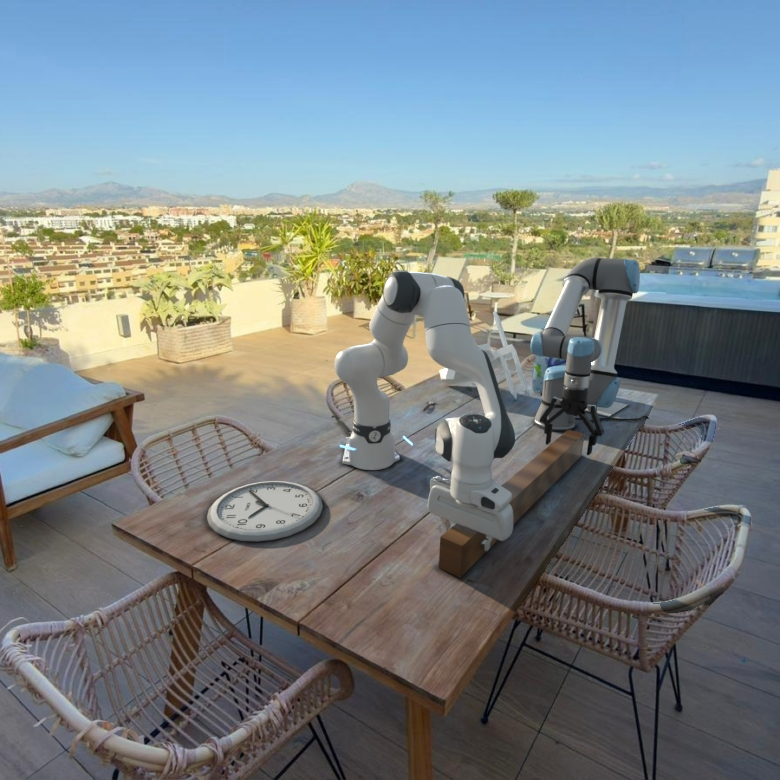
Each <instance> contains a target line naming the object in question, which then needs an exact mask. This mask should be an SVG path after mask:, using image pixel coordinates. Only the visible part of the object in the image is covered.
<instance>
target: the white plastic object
mask: <svg viewBox="0 0 780 780" xmlns="http://www.w3.org/2000/svg"><path fill="white" fill-rule="evenodd" d="M492 315H493V319H494V321H495V324H496V325H495V326H496V328H497V332H498V335H499V338H500V342H501V345H502V347H500V348H498V349H496V350H495V349H493V348H492V347H491V346H490V344H489V343H488V342H487V343H483V344H479V345H478V344H477V345H478V347H479V348H480V349H482V350H483V351H485V352H486V353H487V355H488V357H489V359H490V362H491V364H492V367H493V370H494V371H495V370H496V369H497V368H499V367H500V366H502V370H503V373H504V376H505V380H506V383H507V386H508V390H509V393H510V394H511V395H512V397H513V398H514V399H515V400H517V392H516V391H517V390H516V388H515V385H514V381H513V378H512V375H511V371H510V369H509V365H508V361H510V360H513V363H514V366H515V369H516V372H517V376H518V380H519V382H520V385H521V389H522V391H523V393H524V395H525V396H526V397H528V396H531V395H530V390H529V388H528V387H529V386H528V384H527V381H526V378H525V375H524V371H523V369H522V368H523V367H522V366H521V362H520V359H519V355H518V352H517V349H516V347H515V346H514V345H513V343H511V344H508V341H507V337H506V334H505V331H504V328H503V325H502V321H501V318H500V315H499V314H498V312H497V311H496V310H495V311H492ZM438 372H439V376H440V381H442V383H443V384H444V385H445V386H449V385H458V384H467V383H468V384H469V383H473V384H475V382H474V381H473V380H472V379H471V378H469V377H468V376H466V375H464V374H462V373H460V372H457V371H454V370H451V369H448V368H445V367H443V368H442V369H440V370H439V371H438Z"/></svg>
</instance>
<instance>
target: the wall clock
mask: <svg viewBox="0 0 780 780" xmlns="http://www.w3.org/2000/svg"><path fill="white" fill-rule="evenodd" d="M323 507H324V506H323V501H322V498H321V497H320V495H318V492H316V491H314V490H312V489H311V488H310V487H308V486H306V485H302V484H299V483H297V482H291V481H281V480H269V481H268V480H267V481H258V482H253V483H248V484H245V485H242V486H239V487H235V488H233V489H232V490H229V491H228V492H226V493H224V494H223V495H221V496H220V497H219V498H217V499H216V500H215V501H214V502H213V503H212V504H211V505H210V507H209V509H208V512H207V514H206V515H207V516H206V520H207V523H208V525H209V527H210V528H211V529H212V530H213V531H214V532H215V533H216V534H218V535H220V536H223V537H224V538H227V539H231V540H236V541H239V542H240V541H241V542H258V543H259V542H264V541H265V542H267V541H276V540H278V539H283V538H287V537H290V536H293V535H295V534H298V533H301V532H302V531H305V529H308V528H309V527H310V526H311V525H313V524H314V523H315V522H316V521H317V520H318V519H319V518H320V516H321V514H322V511H323Z"/></svg>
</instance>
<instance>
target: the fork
mask: <svg viewBox="0 0 780 780" xmlns="http://www.w3.org/2000/svg"><path fill="white" fill-rule="evenodd" d="M436 400H437V397H436V396H432V395H431V396H430V399H429V401H428V404H426V405H425V407H424V409H423V411H422V412H424V411H426V410H428V408H429V407H430V406H431V405H433V404H435V403H436Z"/></svg>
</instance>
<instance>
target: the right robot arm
mask: <svg viewBox="0 0 780 780" xmlns="http://www.w3.org/2000/svg"><path fill="white" fill-rule="evenodd" d="M640 281H641V269H640V264H639V261H637V260H635V259H630V258H629V259H628V258H609V257H607V258H606V257H591V258H588V259H585V260H582V261H580V262H579V263H578V264H576V265H575V266H573V268H572V269H570V270H569V271H568V273H567V274H566V276H565V277H564V280H563V281H562V290H561V293H560V294H559V297H558V298H557V301H556V303H555V305H554V308H553V310H552V311H551V314H550V316H549V317H548V320H547V323H546V325H545V327H544V328H543V331H542V333H541V332H538V333H537V332H536V333H534V334H533V335H532V337H531V340H530V345H529V346H530V347H529V348H530V352H531V354H533V355H534V356H536V355H539V356H543V357H544V356H545V357H552V358H560V359H566V360H567V361H566V365H562V366H553V367H550V368H548V369H546V371H545V375H544V379H543V381H544V382H543V391H542V393H541V402H540V405H539V407H538V410H537V411H536V413H535V416H534V424H535V425H536V426H537V427H539V428H542V429H543V433H544V434H545V435H546V437H545V445H548V446H549V445H550V444H551V443H552V442H551V441H552V435H553V434H552V433H553V431H556V432H566V431H567V430H571V431H573V430H574V429H575V428H576V421H582V422H583V424H584V426H585V427H586V429H587V430H588V432H589V433H590V435H588V442H587V450H586V456H590V455H591V454H592V452H593V446H596V444H597V442H598V441H597V440H598V437H602V436H603V435H604V434H605V430H604V427H603V424H602V422H601V421H602V420H610V421H611V420H612V421H640V420H642V419H644V418H645V419H647V420H650V418H649V416H648V415H642V416H640V417H637V418H621V417H620V418H619V417H616V418H615V417H600V416H599V414H598V413H597V407H602V408H609V407H610V406H611V405H612V404H613V402H615V400H616V398H617V396H618V393H619V389H620V385H621V378H619V377H618V371H617V370H616V369H615V363H616V359H617V353H618V348H619V342H620V338H621V332H622V327H623V323H624V317H625V312H626V307H627V303H628V302H630V301H631V300H632V299H633V295H634V294H638V292H639V290H640V289H639V288H640ZM592 290H594V291H598V292H597V296H598V297H599V299H600V300H601V301H600V304H599V310H598V315H597V316H598V317H597V320H596V325H595V331H594V337H591V336H590V337H581V336H577V337H571V336H567V334H568V331H569V329H570V327H571V324H572V322H573V320H574V318H575V315H576V313H577V311H578V308H579V306H580V304H581V301H582V299H583V298H584V296H586V295H587V294H588V292H589V291H592ZM585 409H588V410H589V412H587V411H585ZM588 413H590V416H591V419H590V417H589V415H588Z"/></svg>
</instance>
